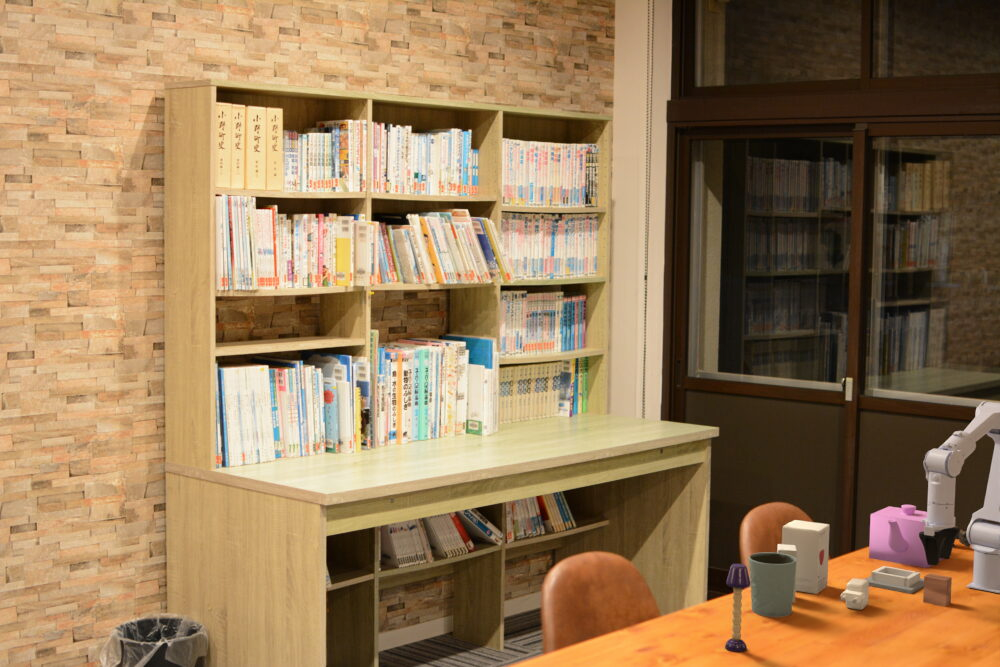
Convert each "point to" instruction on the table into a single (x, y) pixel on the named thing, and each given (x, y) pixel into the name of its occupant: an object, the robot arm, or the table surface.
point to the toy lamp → (737, 604)
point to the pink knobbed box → (898, 536)
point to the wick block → (937, 589)
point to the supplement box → (809, 553)
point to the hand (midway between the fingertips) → (938, 561)
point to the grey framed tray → (896, 579)
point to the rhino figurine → (962, 538)
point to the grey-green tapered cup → (772, 583)
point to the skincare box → (790, 551)
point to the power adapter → (856, 594)
